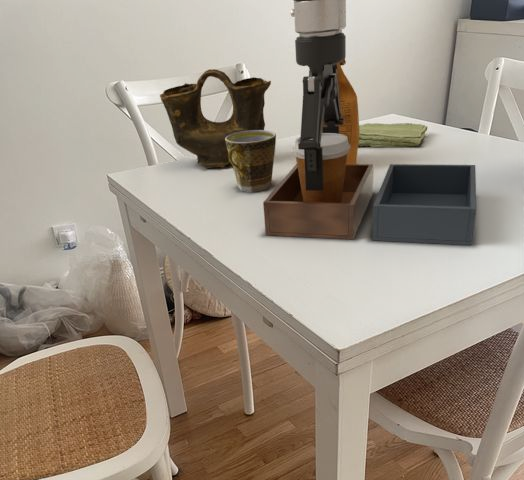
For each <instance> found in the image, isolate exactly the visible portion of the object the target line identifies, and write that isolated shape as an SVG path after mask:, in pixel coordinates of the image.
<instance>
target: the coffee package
mask: <svg viewBox="0 0 524 480" xmlns="http://www.w3.org/2000/svg"><path fill="white" fill-rule="evenodd" d="M346 63H347V61H346V59H345V60H344V61H342V62H340V63H337V66H338V68H337V78H338V87H339V97H340V107H341V114H342V116H341V118H344V123H343V125H337V126H339V134H342V135H345V136H347V138H348V143H349V144H350V146H351V147H350V149H349V152H348V153H347V162H346V164H357V160H358V150H359V146H358V145H359V126H360V118H359V116H360V115H359V103H358V96H357V93H356V91H355V89H354V87H353V86H352V84H351V82H350V80H349V79H348V77H347V76H346V74H345V72H344V69H343V68H342V66H345V65H346ZM326 126H327V125H325V124H324V120H323V127H326ZM322 133H323V128H322Z"/></svg>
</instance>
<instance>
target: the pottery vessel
mask: <svg viewBox="0 0 524 480" xmlns="http://www.w3.org/2000/svg"><path fill="white" fill-rule="evenodd" d="M208 78H216V79H218V80H219V81H220V82H222V83H223V85H224V86H225V88H227V91H228V94H229V95H230V99H231V104H232V113H231V115H230V118H228V119H227V120H225V121H218V122H217V121H212V120H209V119H208V118H206V117H205V116H204V114H203V111H202V91H203V87H204V85H205V82H206V81H207V80H208ZM271 84H272V81H271V80H268V81H267V80H265V79H263V78H261V77H254V76H252V77H250V78H249V77H248V78H244V79H241V80H238V81H236V82H232V80H231V78H230V77H229V75H227V74H226V73H225V72H224V71H222V70H219V69H215V68H214V69H212V68H211V69H207V70H205V71H204V72H203V73H202V74H201V75H200V77H199V78H198V79H197V82H196V83H187V82H185V83H184V84H183V85H177V86H174V87H170V88H167V89H165V90H163V92H162V93H161V94H159V97H160V101H161V102H162V104H163V107H164V109H165V111H166V114H167V116H168V120H169V123H170V125H171V128H172V134H173V137H174V140H175V143H176V144H177V145H178V146H179V147H180V148H182V149H184V150H186V151H188V152H189V153H190V154H193V155H195V156H196V158H197V164H198V165H199V164H200V163H201V164H200V165H201V166H202V167H203V168H204V169H211V168H216V167H218V168H224V167H225V166H226V165H228V164H230V161H229V153H228V149H227V145H226V141H225V138H226V137H227V136H229V135H231V134H234V133H238V132H243V131H250V130H265V127H266V122H265V116H264V109H265V103H266V101H265V93H266V92H267V90H268V89H269V88H270V86H271Z"/></svg>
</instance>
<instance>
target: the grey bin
mask: <svg viewBox="0 0 524 480" xmlns="http://www.w3.org/2000/svg"><path fill="white" fill-rule="evenodd" d="M476 177H477V176H476V164H422V163H421V164H420V163H419V164H418V163H417V164H412V163H411V164H408V163H407V164H406V163H405V164H404V163H390V164H389V166H388V168H387V170H386V174H385V176H384V179H383V181H382V184H381V186H380V188H379V191H378V192H377V193H378V194H377V196H376V199H375V201H374V203H373V206H372V231H371V232H372V233H371V240H372V241H377V242H399V243H419V244H420V243H421V244H439V245H459V246H460V245H461V246H472V240H473V234H474V227H475V222H476V221H475V220H476V214H477V178H476Z"/></svg>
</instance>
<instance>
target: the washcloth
mask: <svg viewBox="0 0 524 480" xmlns="http://www.w3.org/2000/svg"><path fill="white" fill-rule="evenodd" d="M427 131H428V125H425V124H420V123H413V122H410V123H409V122H406V123H405V122H403V123H378V122H377V123H376V122H375V123H368V122H367V123H364V124H359V145H358V147H371V148H377V147H387V148H398V147H401V148H402V147H406V148H407V147H415V146H416V147H418V146H419V145H420V144H421V142H422V140H423V138H424V137H425V136H426V132H427Z"/></svg>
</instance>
